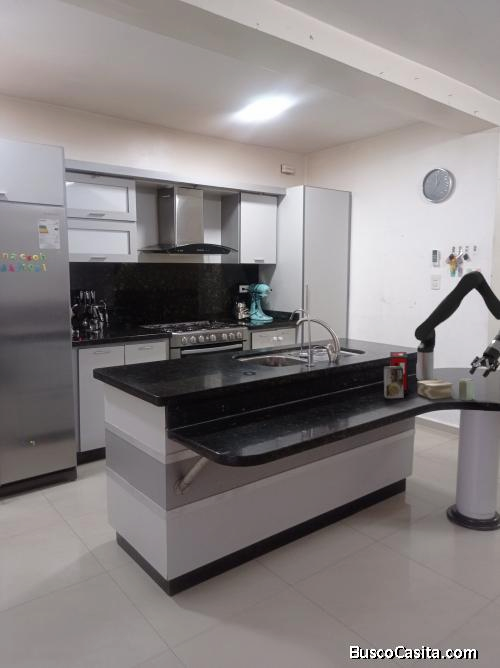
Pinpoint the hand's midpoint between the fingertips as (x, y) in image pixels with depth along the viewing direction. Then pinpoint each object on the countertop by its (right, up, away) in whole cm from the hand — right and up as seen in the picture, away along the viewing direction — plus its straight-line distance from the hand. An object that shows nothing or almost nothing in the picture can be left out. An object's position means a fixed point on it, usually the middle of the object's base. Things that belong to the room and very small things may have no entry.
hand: (477, 375), depth 248 cm
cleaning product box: (-33, -10, +24) cm, 42 cm away
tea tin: (-6, -12, -1) cm, 14 cm away
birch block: (-19, -12, +9) cm, 24 cm away
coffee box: (-40, -13, +10) cm, 43 cm away
